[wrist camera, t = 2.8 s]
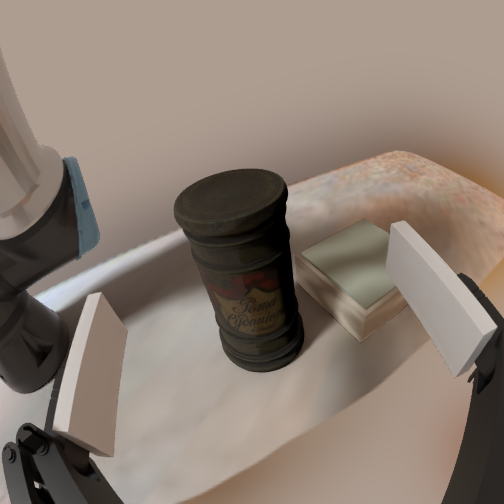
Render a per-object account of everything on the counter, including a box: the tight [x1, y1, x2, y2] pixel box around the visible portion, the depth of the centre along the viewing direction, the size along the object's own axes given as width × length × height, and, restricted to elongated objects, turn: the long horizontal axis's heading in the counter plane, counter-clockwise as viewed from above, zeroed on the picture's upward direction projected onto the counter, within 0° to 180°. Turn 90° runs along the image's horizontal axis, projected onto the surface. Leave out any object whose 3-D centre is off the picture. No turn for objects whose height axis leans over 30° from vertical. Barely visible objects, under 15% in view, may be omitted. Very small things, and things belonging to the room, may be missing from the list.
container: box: [174, 169, 304, 372], centre depth 26 cm, size 9×9×18 cm
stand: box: [295, 219, 408, 343], centre depth 33 cm, size 12×12×5 cm
